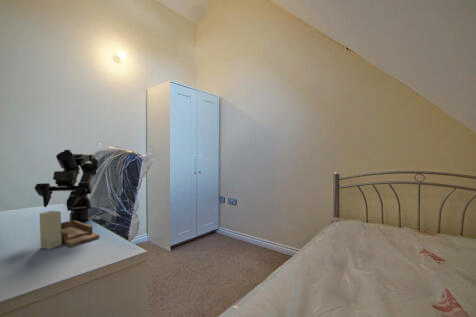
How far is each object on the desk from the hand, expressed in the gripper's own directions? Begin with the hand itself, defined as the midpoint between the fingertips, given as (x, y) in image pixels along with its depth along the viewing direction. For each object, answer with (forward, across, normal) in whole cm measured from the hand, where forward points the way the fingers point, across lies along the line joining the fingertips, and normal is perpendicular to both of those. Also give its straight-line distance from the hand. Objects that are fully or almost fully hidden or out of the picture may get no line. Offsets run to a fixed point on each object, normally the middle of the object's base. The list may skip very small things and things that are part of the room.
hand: (59, 205), depth 86 cm
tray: (+9, +4, +10) cm, 14 cm away
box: (+15, 0, +4) cm, 16 cm away
